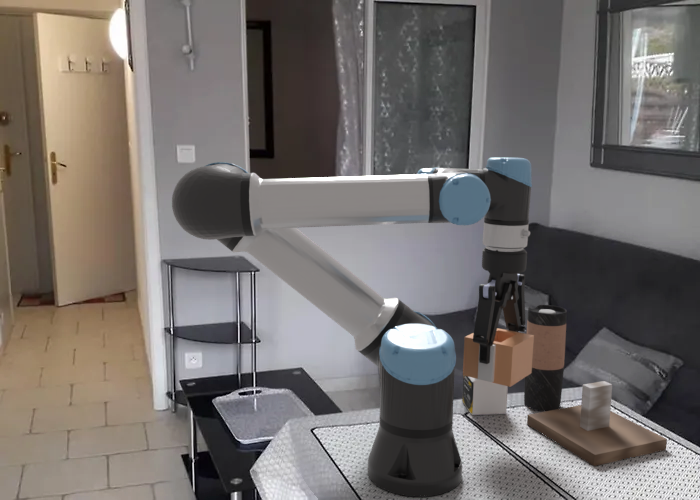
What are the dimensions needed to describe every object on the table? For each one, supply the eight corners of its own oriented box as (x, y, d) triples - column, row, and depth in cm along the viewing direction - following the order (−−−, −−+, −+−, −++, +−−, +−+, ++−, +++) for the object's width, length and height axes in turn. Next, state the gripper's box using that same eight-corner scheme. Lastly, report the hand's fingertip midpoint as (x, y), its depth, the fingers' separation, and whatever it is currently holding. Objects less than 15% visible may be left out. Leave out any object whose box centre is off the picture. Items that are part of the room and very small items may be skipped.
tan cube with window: (510, 386, 119) (512, 347, 118) (462, 375, 124) (464, 336, 123) (531, 373, 126) (534, 335, 125) (485, 362, 131) (487, 326, 130)
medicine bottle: (461, 401, 144) (463, 345, 142) (495, 400, 145) (498, 344, 143) (471, 415, 137) (473, 356, 135) (506, 414, 138) (509, 355, 136)
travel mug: (563, 413, 138) (569, 315, 135) (523, 410, 140) (528, 312, 137) (559, 399, 146) (565, 305, 143) (522, 396, 147) (526, 303, 144)
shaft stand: (594, 466, 117) (598, 409, 115) (527, 424, 133) (529, 374, 131) (665, 449, 123) (670, 395, 121) (593, 412, 139) (596, 363, 138)
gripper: (497, 258, 110) (490, 395, 114) (549, 242, 127) (541, 361, 131) (455, 253, 115) (449, 384, 118) (510, 238, 132) (504, 353, 136)
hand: (497, 372), depth 125 cm, fingers closed on tan cube with window, 9 cm apart
